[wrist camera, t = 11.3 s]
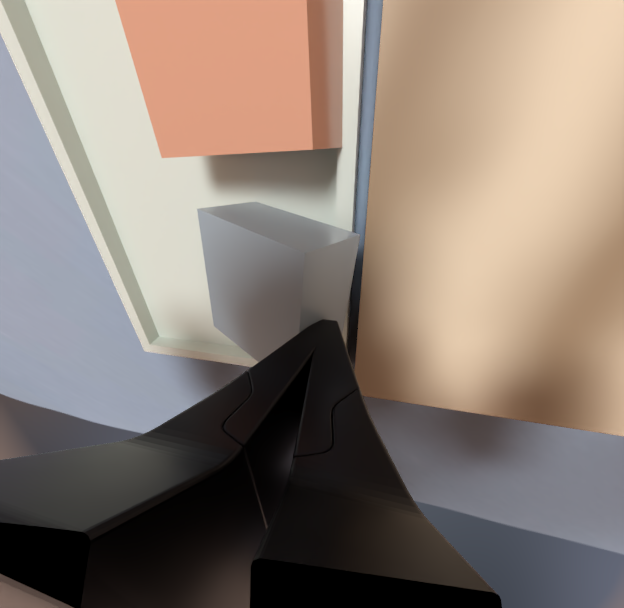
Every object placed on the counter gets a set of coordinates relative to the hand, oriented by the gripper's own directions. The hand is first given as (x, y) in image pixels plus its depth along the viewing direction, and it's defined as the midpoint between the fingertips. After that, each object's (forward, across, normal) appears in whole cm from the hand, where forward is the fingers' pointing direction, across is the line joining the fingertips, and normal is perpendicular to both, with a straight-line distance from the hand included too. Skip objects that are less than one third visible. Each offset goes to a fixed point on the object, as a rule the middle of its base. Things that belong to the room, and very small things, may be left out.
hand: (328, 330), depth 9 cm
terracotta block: (+3, +3, -8) cm, 9 cm away
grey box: (+2, +2, -1) cm, 3 cm away
